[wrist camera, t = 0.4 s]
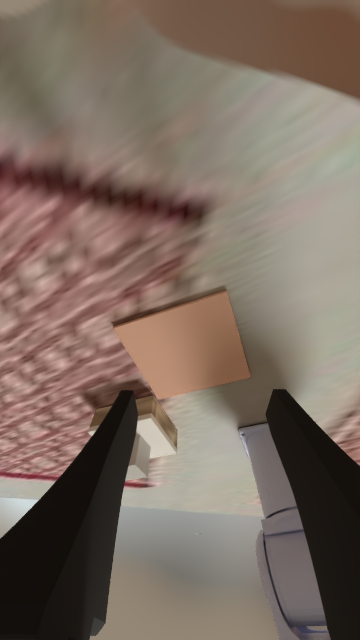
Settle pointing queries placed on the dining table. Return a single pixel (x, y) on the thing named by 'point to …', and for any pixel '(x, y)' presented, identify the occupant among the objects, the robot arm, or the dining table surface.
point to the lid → (146, 446)
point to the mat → (187, 346)
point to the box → (144, 407)
